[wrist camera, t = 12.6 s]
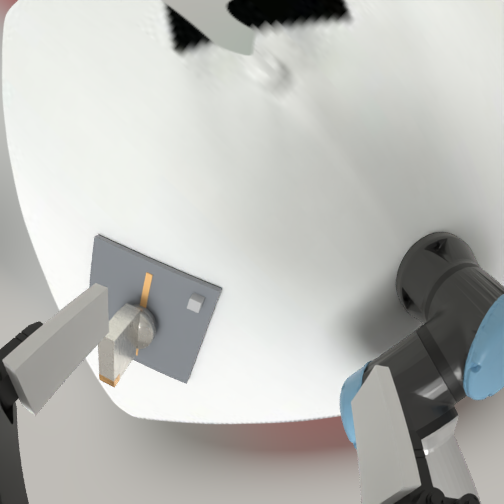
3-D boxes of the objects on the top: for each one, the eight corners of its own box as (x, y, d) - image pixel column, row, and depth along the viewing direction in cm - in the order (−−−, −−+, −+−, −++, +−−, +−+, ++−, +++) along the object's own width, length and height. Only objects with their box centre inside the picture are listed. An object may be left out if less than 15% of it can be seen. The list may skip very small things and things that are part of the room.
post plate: (221, 288, 47) (217, 298, 44) (188, 379, 55) (183, 390, 52) (98, 234, 46) (88, 240, 43) (90, 332, 55) (83, 340, 52)
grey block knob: (119, 291, 46) (83, 325, 36) (160, 309, 46) (130, 349, 36) (116, 337, 50) (87, 372, 40) (152, 354, 50) (128, 394, 40)
